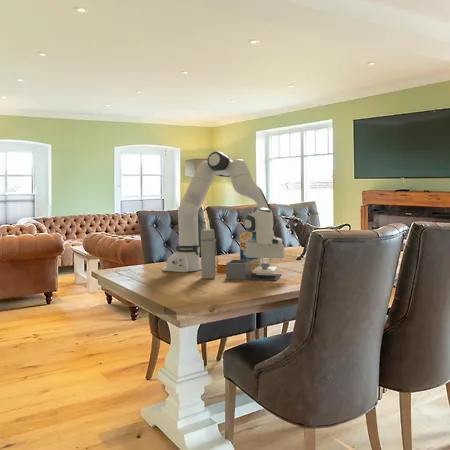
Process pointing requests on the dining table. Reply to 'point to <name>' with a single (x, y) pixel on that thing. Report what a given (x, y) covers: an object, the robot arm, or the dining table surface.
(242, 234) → the beverage box
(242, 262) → the storage box
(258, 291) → the dining table surface
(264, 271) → the lid
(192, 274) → the dining table surface
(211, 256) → the water bottle
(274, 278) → the mat
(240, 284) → the dining table surface
